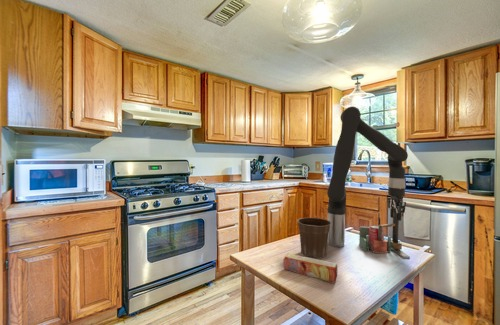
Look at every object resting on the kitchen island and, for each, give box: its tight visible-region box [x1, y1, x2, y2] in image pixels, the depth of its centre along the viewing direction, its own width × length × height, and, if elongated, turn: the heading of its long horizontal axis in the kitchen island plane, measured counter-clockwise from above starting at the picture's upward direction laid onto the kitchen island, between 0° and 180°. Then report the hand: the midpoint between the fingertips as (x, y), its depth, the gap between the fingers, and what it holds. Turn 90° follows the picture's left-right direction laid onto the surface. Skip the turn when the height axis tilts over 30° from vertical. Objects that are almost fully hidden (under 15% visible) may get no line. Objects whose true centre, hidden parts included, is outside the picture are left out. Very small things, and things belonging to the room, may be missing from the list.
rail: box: [391, 248, 411, 259], centre depth 120 cm, size 3×15×1 cm, turn 175°
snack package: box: [283, 252, 338, 284], centre depth 96 cm, size 21×7×7 cm, turn 59°
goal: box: [358, 226, 392, 254], centre depth 125 cm, size 12×10×10 cm
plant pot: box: [296, 217, 331, 259], centre depth 117 cm, size 16×16×16 cm
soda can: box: [368, 224, 385, 251], centre depth 123 cm, size 7×7×12 cm
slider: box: [372, 207, 403, 254], centre depth 122 cm, size 15×8×22 cm, turn 85°
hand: (395, 218), depth 123 cm, fingers open, 5 cm apart
